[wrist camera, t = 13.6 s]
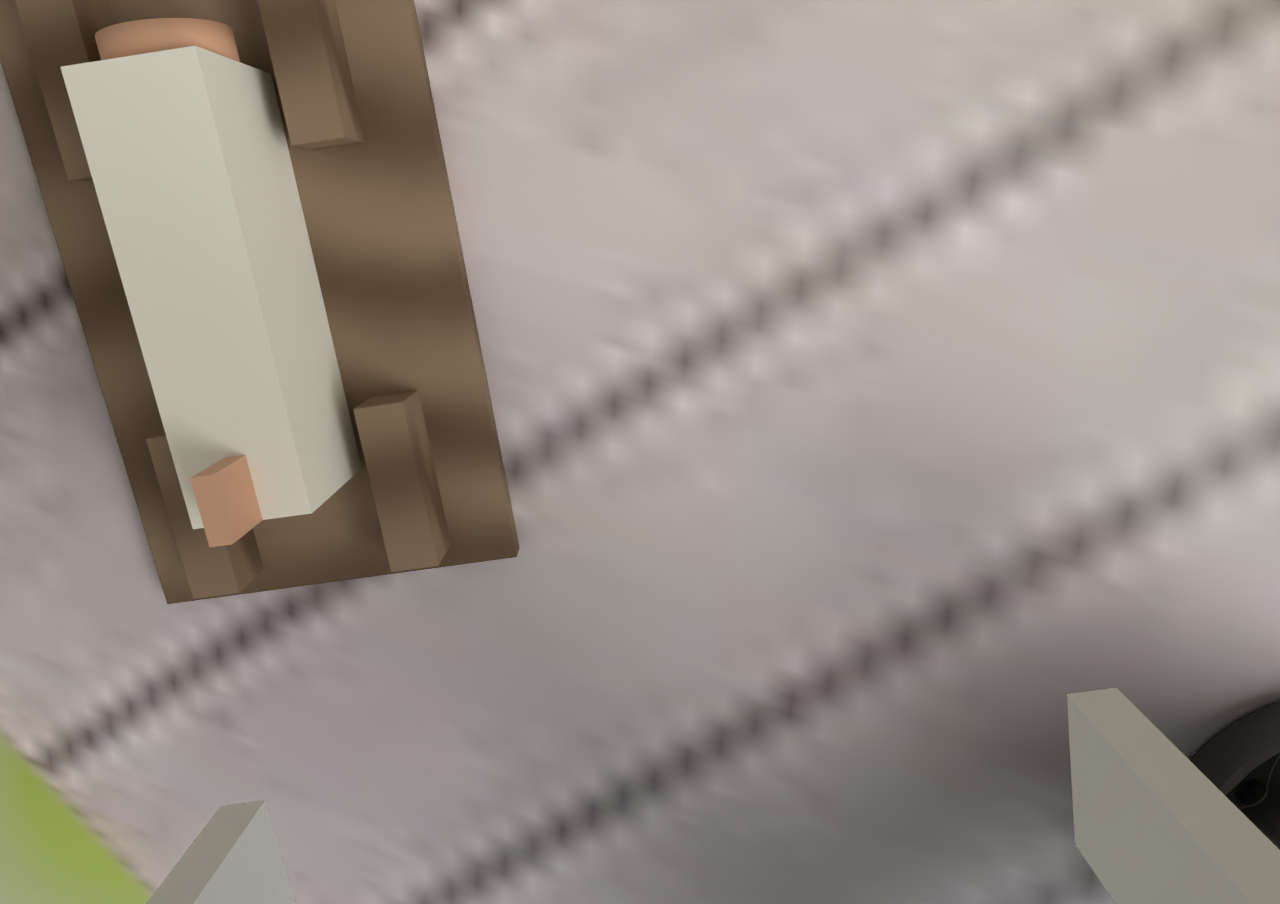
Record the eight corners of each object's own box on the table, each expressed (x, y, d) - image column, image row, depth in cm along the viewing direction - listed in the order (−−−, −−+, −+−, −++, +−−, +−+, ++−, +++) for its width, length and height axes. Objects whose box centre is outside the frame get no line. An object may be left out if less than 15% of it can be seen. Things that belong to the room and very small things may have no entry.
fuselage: (361, 468, 38) (285, 537, 30) (260, 482, 39) (157, 554, 30) (263, 40, 34) (142, -15, 26) (149, 58, 34) (-7, 9, 26)
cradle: (519, 548, 40) (508, 579, 37) (178, 594, 41) (136, 629, 38) (397, -87, 34) (369, -121, 30) (-7, -19, 34) (-78, -45, 31)
